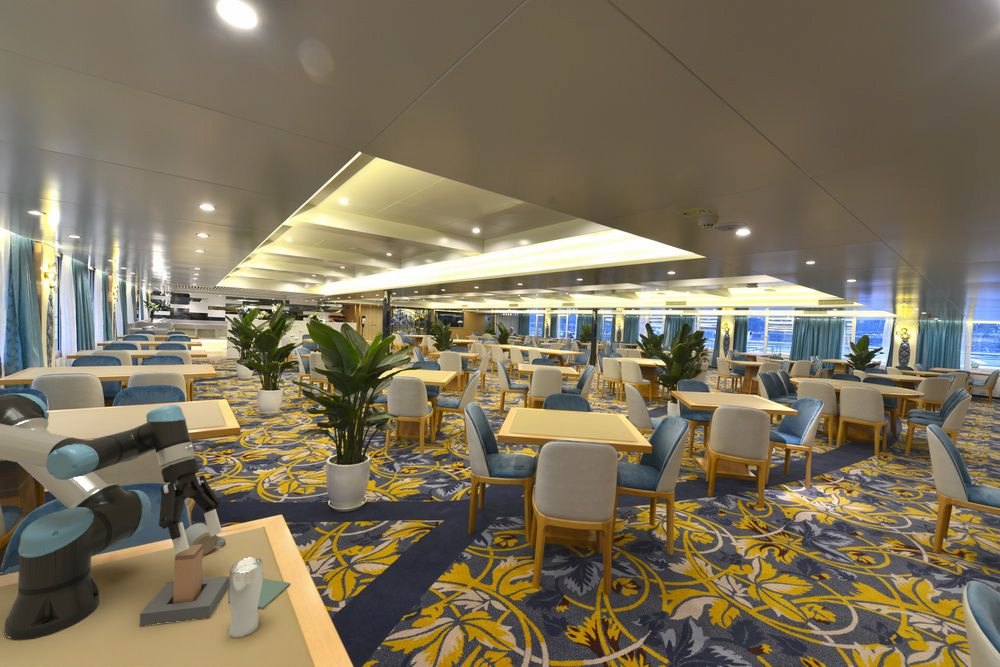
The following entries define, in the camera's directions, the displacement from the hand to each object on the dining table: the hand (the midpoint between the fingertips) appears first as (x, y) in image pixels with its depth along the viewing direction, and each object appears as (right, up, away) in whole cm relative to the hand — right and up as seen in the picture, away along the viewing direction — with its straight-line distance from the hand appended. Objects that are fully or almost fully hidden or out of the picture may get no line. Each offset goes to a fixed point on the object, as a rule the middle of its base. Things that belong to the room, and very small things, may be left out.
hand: (200, 542), depth 104 cm
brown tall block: (-1, -14, -3) cm, 15 cm away
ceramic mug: (-15, -14, +22) cm, 30 cm away
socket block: (-1, -14, -3) cm, 15 cm away
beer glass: (+17, -16, -9) cm, 25 cm away
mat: (+14, -15, +3) cm, 21 cm away
